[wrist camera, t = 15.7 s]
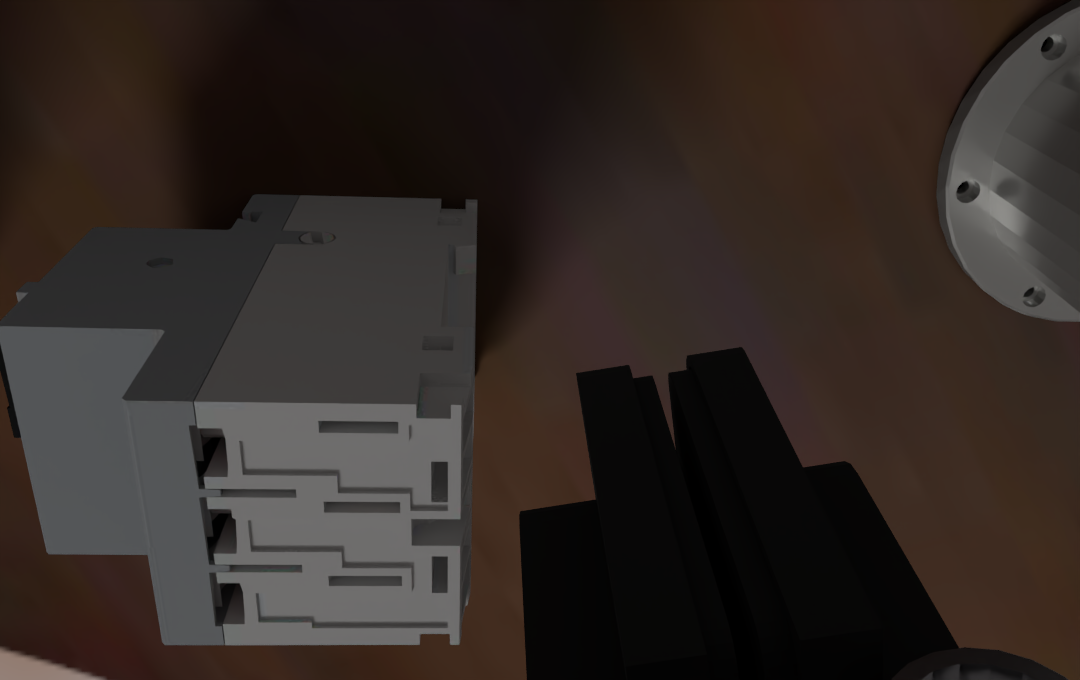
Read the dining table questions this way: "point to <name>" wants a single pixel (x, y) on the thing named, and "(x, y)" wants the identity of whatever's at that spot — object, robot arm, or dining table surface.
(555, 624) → the robot arm
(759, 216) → the dining table surface
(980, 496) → the dining table surface
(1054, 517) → the dining table surface
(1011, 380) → the dining table surface
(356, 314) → the circuit breaker
